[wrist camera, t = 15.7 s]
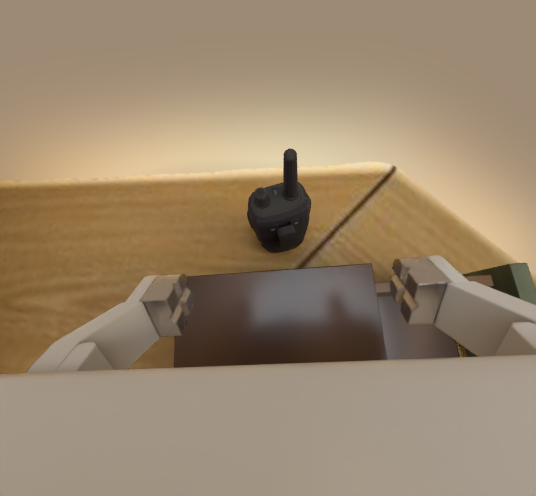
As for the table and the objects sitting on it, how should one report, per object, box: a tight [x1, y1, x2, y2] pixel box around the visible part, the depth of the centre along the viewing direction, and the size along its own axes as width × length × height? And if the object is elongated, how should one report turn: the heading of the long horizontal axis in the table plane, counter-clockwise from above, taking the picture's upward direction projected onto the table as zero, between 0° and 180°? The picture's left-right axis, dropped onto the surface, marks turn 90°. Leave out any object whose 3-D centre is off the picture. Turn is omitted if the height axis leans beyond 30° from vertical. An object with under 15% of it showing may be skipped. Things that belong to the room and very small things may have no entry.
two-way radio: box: [247, 149, 311, 252], centre depth 21 cm, size 6×4×15 cm
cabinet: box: [174, 263, 388, 368], centre depth 21 cm, size 15×13×9 cm
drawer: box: [375, 263, 536, 360], centre depth 20 cm, size 19×11×7 cm, turn 93°
